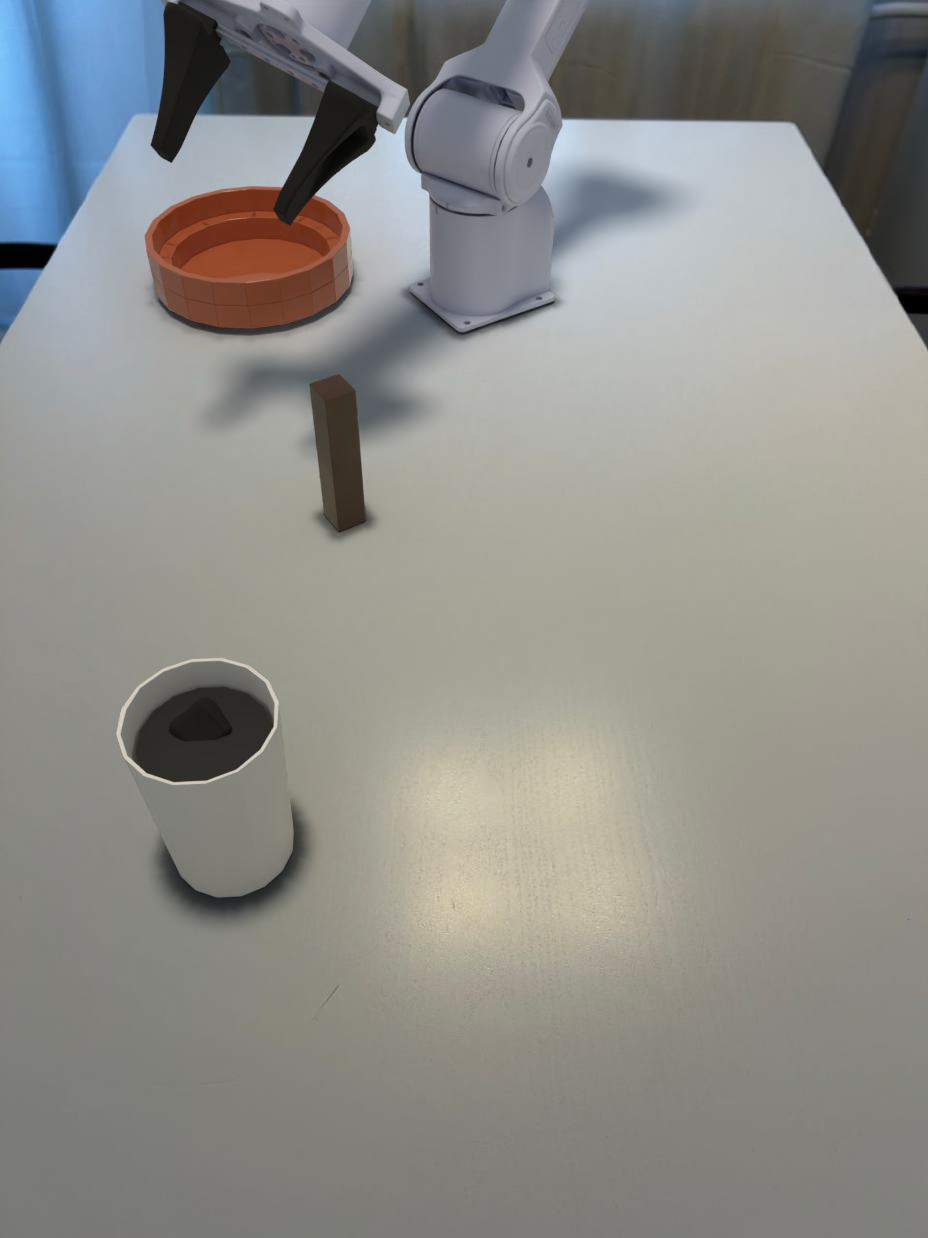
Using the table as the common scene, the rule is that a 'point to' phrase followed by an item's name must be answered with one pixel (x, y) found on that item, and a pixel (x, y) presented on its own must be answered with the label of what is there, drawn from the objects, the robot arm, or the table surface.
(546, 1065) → the table surface
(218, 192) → the bowl
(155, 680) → the white cup
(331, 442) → the stick
